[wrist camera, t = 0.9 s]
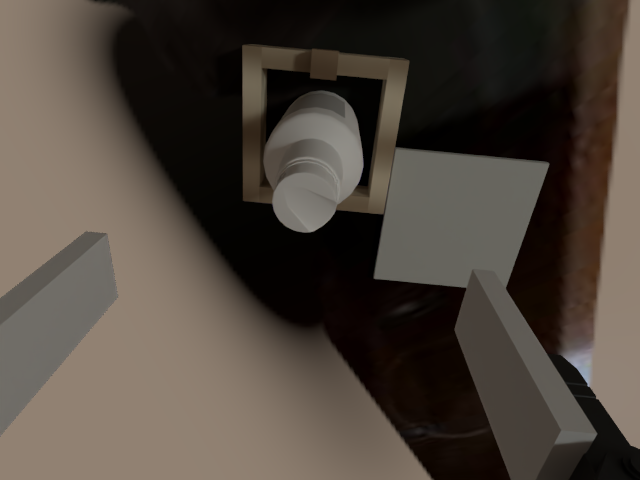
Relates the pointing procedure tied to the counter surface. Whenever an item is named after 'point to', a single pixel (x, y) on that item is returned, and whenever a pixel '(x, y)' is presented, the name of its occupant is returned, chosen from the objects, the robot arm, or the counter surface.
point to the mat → (455, 216)
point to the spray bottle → (313, 160)
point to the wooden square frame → (328, 68)
